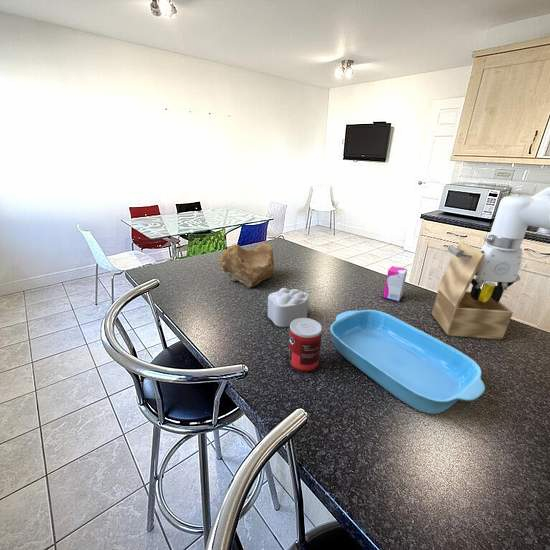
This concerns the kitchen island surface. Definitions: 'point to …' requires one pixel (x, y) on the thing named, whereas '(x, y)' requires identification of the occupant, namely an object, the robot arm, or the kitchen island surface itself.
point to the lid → (460, 272)
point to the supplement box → (395, 283)
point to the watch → (486, 291)
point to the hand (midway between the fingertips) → (484, 298)
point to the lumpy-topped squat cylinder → (287, 306)
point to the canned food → (304, 344)
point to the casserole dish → (407, 360)
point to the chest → (472, 317)
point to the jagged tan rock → (248, 264)
